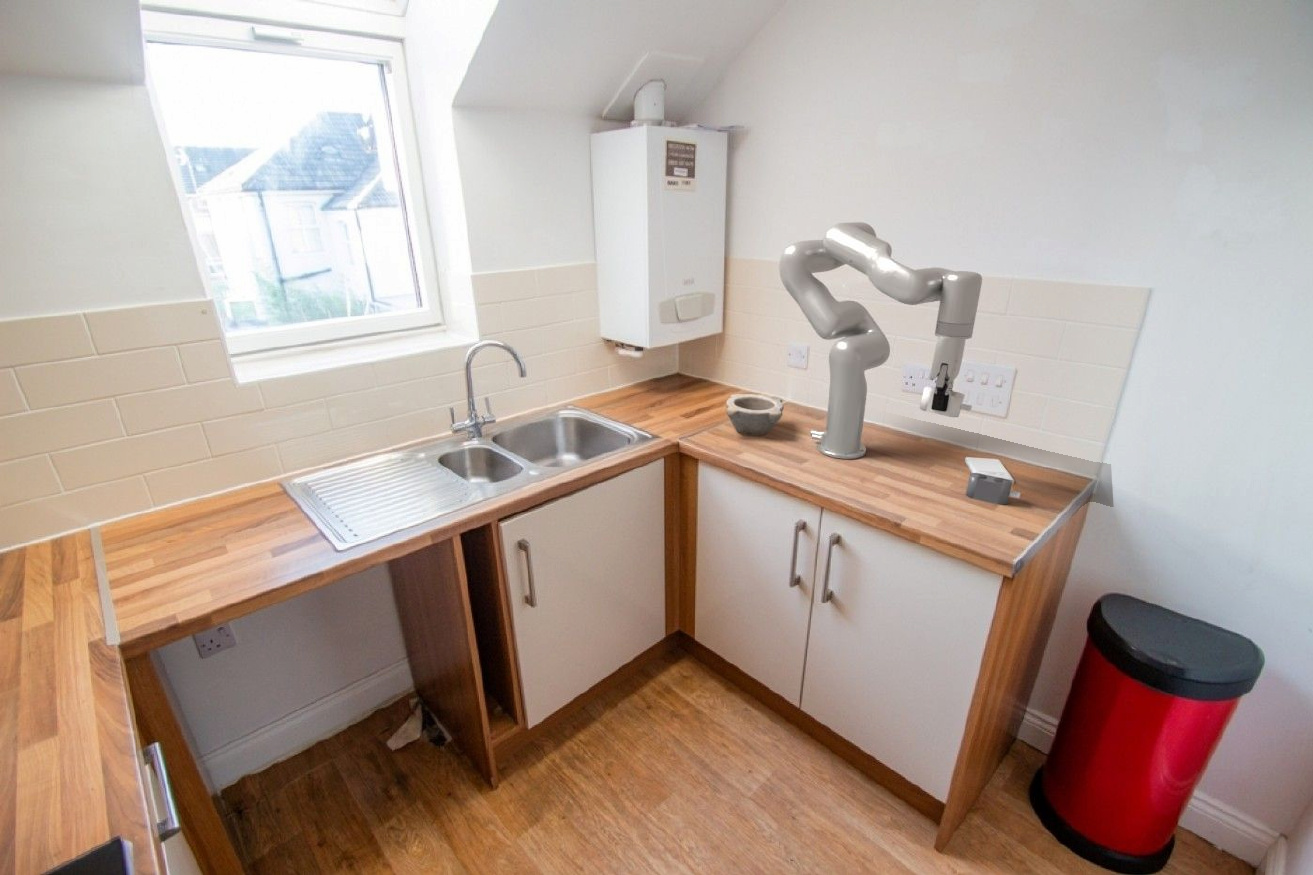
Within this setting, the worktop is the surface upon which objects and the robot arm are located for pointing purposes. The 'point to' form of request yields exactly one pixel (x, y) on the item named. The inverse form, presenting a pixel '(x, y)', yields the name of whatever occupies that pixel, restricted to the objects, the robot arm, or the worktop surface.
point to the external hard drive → (988, 467)
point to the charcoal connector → (990, 489)
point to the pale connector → (953, 403)
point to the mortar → (754, 413)
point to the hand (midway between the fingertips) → (940, 407)
